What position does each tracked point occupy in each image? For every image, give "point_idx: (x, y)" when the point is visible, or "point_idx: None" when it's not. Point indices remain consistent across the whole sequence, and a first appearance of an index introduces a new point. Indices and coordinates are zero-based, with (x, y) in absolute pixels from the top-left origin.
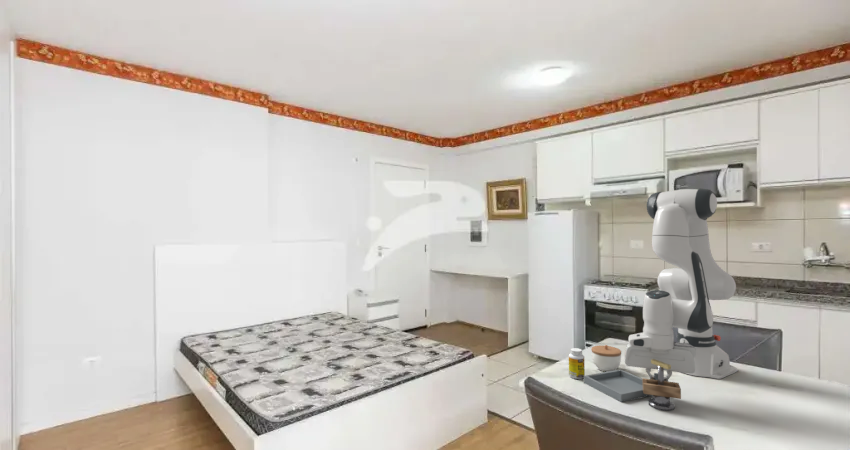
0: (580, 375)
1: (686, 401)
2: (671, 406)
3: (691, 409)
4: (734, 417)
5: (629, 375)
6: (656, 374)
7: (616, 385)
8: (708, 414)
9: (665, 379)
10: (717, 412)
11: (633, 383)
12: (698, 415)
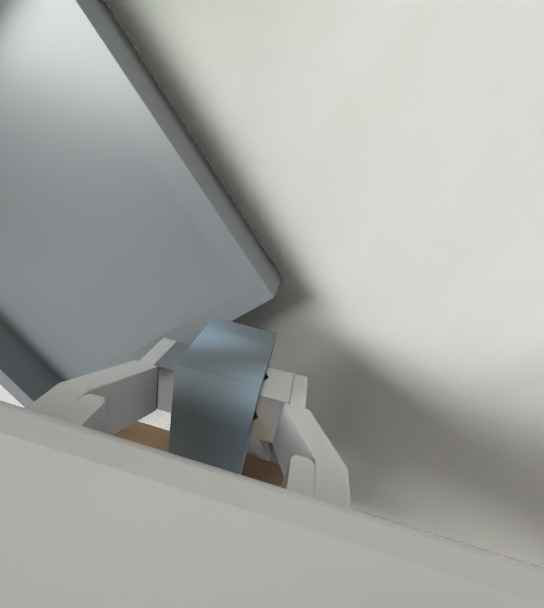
0: None
1: (398, 370)
2: (271, 459)
3: (369, 449)
4: (539, 512)
5: (51, 10)
6: (191, 404)
7: (18, 211)
8: (424, 487)
9: (269, 435)
10: (490, 474)
11: (118, 137)
12: (368, 492)
